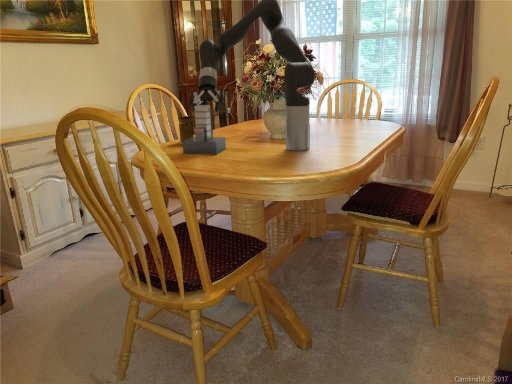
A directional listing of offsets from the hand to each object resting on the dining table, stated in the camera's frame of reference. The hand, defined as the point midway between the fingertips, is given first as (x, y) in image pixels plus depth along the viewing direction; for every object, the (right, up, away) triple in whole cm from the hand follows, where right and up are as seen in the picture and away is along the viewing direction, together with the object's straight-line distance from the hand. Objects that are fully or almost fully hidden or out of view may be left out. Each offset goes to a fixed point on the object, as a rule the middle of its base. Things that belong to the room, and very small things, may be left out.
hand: (205, 111), depth 167 cm
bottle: (-3, -9, +25) cm, 26 cm away
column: (0, -11, -2) cm, 11 cm away
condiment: (-10, -10, +20) cm, 25 cm away
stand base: (0, -16, -1) cm, 16 cm away
